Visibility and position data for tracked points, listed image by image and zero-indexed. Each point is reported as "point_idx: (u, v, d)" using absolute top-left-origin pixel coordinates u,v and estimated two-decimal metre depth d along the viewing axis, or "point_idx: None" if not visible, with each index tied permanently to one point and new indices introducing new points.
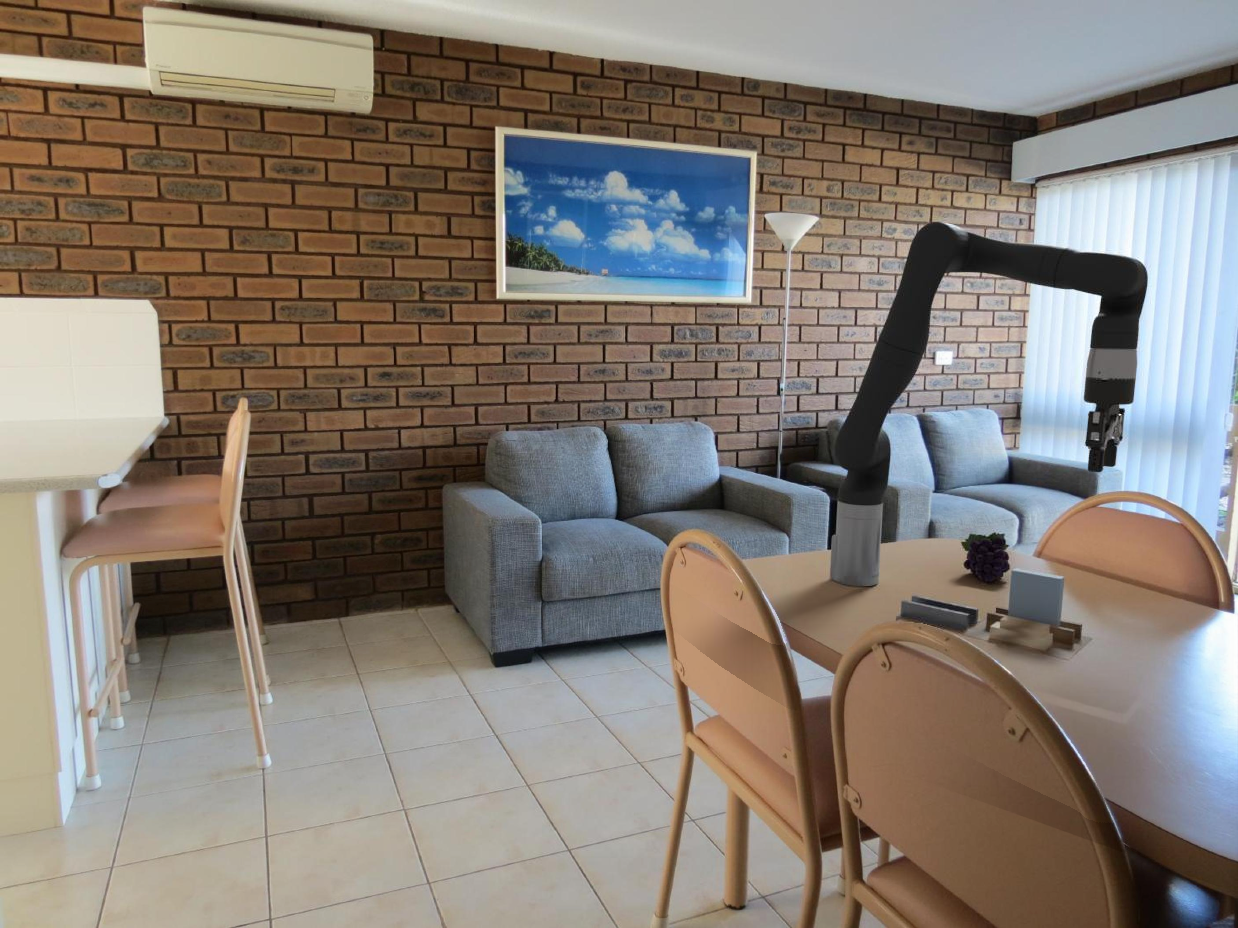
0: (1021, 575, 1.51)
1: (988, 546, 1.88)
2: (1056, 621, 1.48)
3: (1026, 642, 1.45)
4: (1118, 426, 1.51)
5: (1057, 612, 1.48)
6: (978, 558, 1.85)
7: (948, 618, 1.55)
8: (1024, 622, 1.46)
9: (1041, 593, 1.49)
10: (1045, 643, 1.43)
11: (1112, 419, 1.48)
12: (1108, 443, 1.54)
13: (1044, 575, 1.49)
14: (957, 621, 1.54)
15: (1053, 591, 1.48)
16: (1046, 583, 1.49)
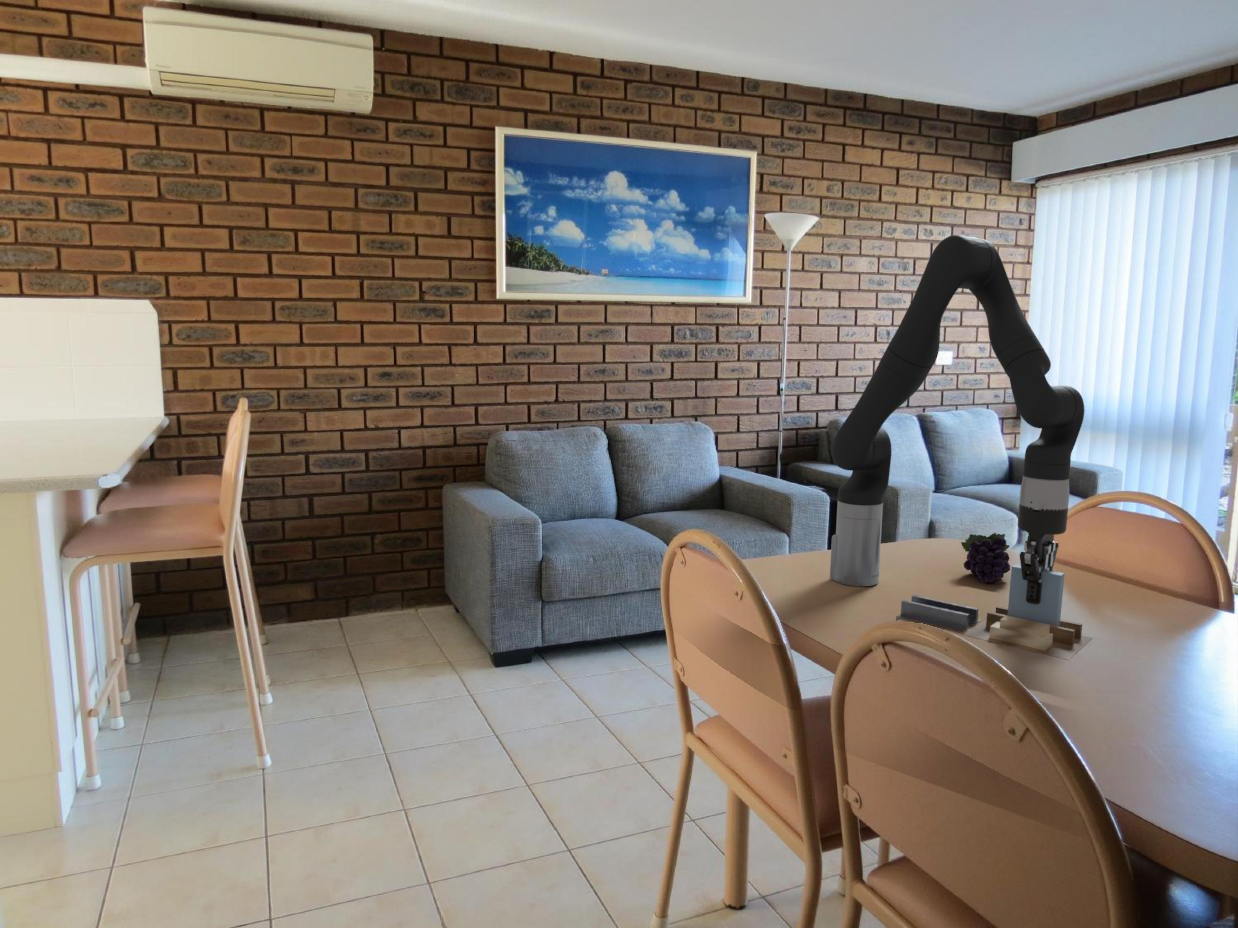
0: (1021, 571, 1.51)
1: (988, 547, 1.87)
2: (1056, 617, 1.48)
3: (1026, 642, 1.45)
4: (1050, 554, 1.49)
5: (1057, 608, 1.48)
6: (978, 559, 1.85)
7: (948, 618, 1.55)
8: (1024, 622, 1.46)
9: (1041, 589, 1.49)
10: (1045, 643, 1.43)
11: (1044, 551, 1.47)
12: None
13: (1044, 571, 1.49)
14: (957, 621, 1.54)
15: (1053, 587, 1.48)
16: (1046, 580, 1.48)
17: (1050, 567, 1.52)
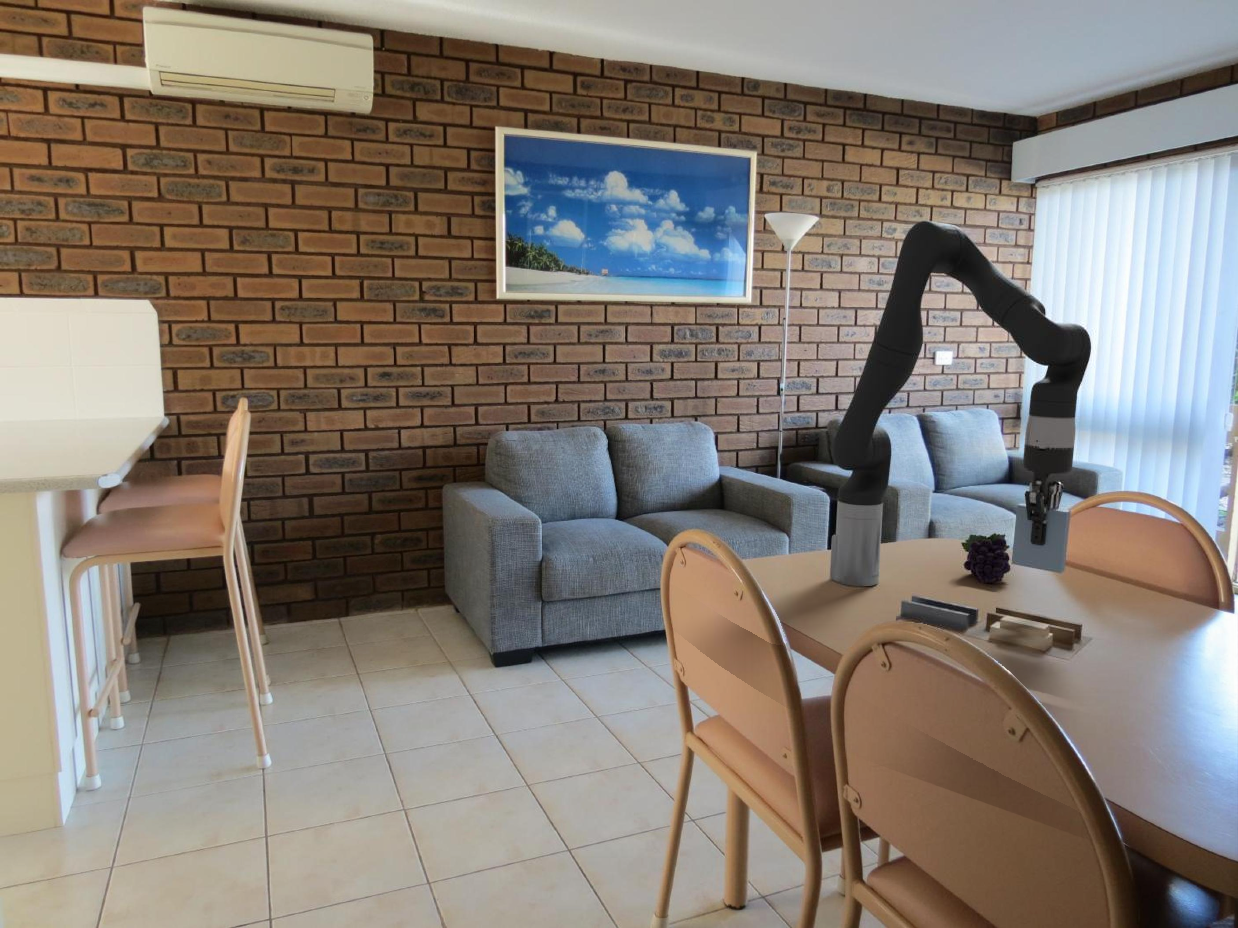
0: None
1: (988, 547, 1.87)
2: (1061, 555, 1.46)
3: (1026, 642, 1.45)
4: (1055, 494, 1.48)
5: (1063, 546, 1.46)
6: (978, 559, 1.85)
7: (948, 618, 1.55)
8: (1024, 622, 1.46)
9: None
10: (1045, 643, 1.43)
11: (1050, 490, 1.46)
12: None
13: None
14: (957, 621, 1.54)
15: (1059, 524, 1.46)
16: (1052, 517, 1.47)
17: None
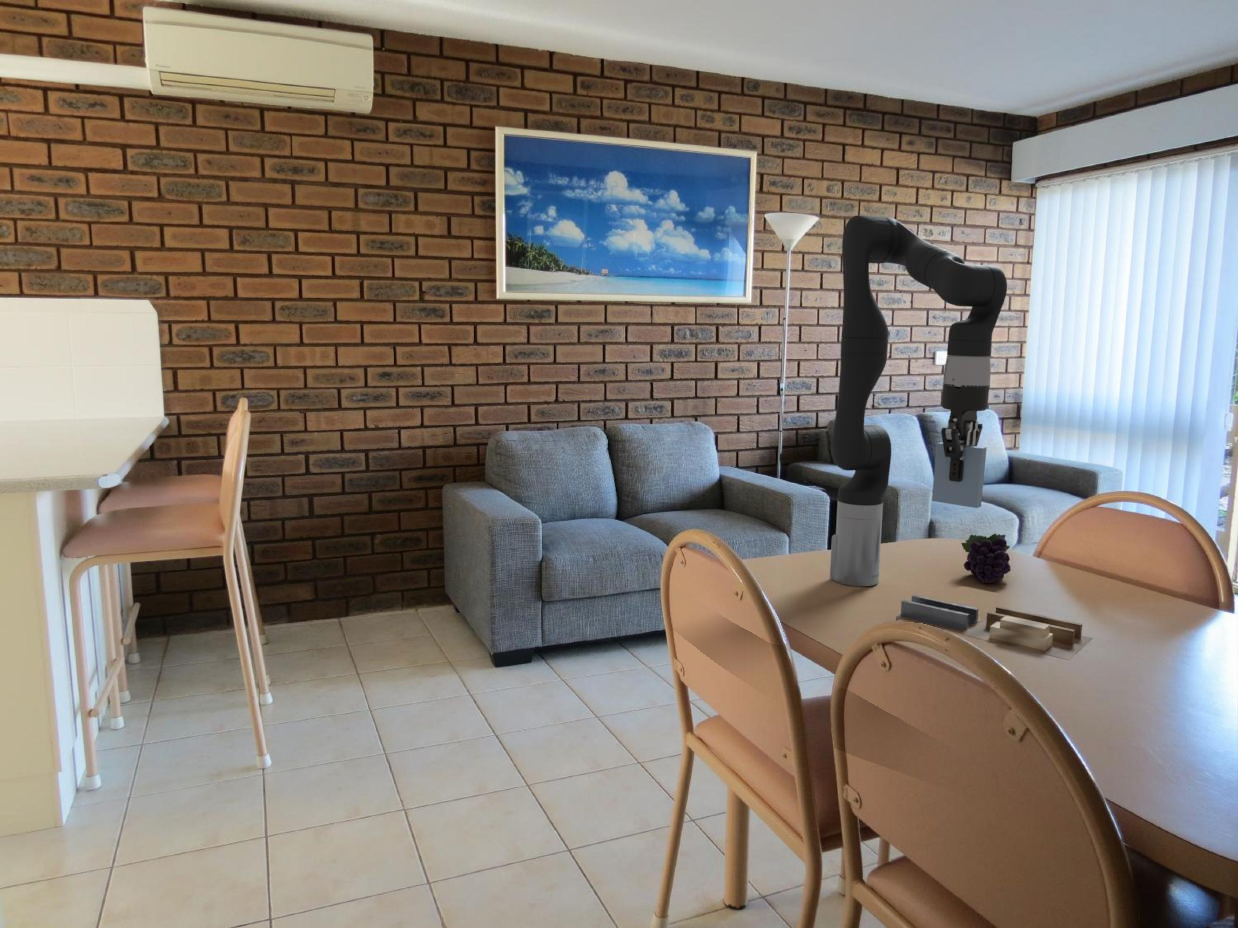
0: None
1: (989, 547, 1.87)
2: (977, 490, 1.51)
3: (1026, 642, 1.45)
4: (972, 432, 1.53)
5: (978, 481, 1.51)
6: (978, 559, 1.84)
7: (948, 618, 1.55)
8: (1024, 622, 1.46)
9: (964, 463, 1.52)
10: (1045, 643, 1.43)
11: (966, 428, 1.51)
12: None
13: None
14: (957, 621, 1.54)
15: (975, 461, 1.51)
16: (968, 454, 1.52)
17: None
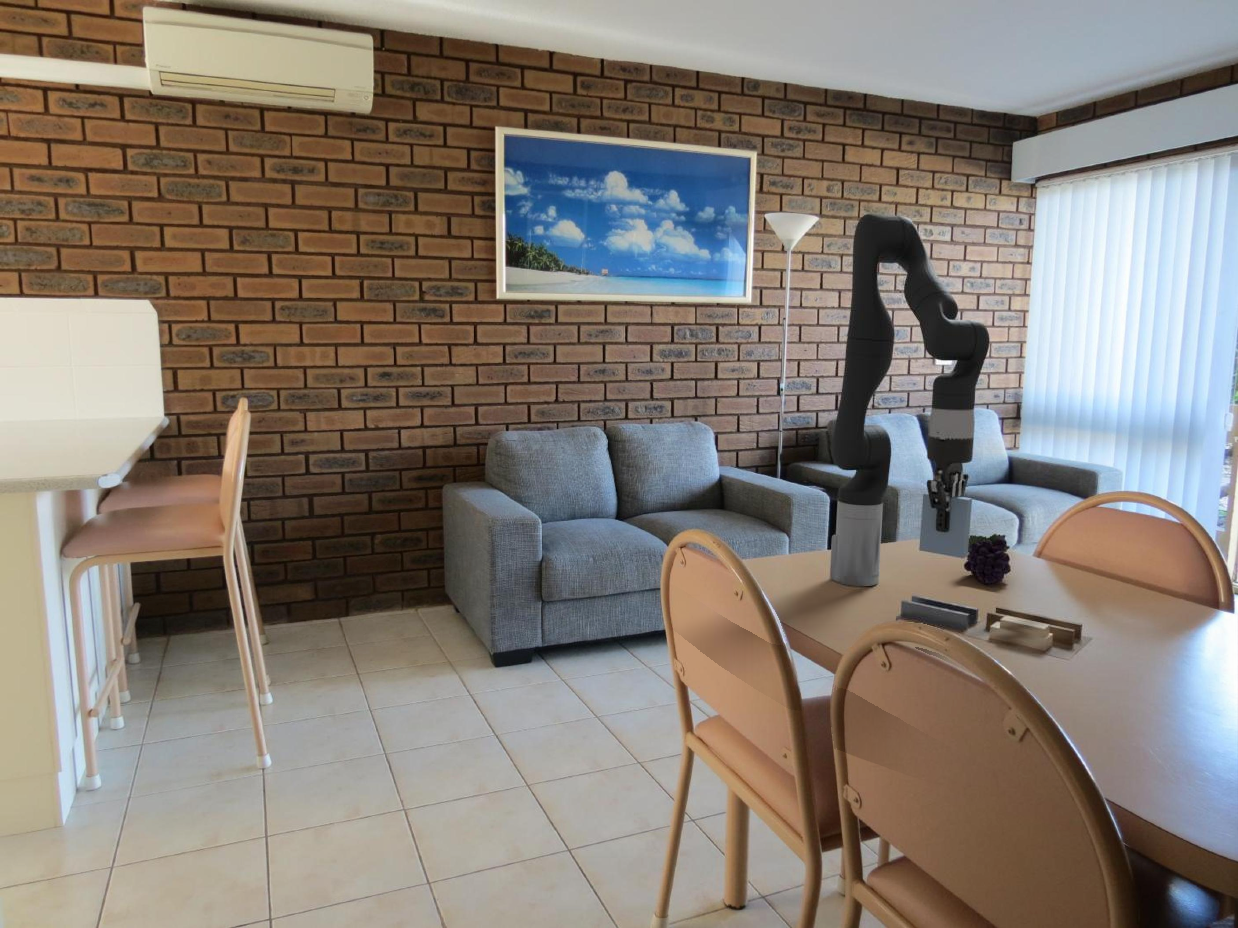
0: None
1: (989, 547, 1.86)
2: (964, 541, 1.53)
3: (1026, 642, 1.45)
4: (958, 483, 1.55)
5: (964, 532, 1.53)
6: (979, 560, 1.84)
7: (948, 618, 1.55)
8: (1024, 622, 1.46)
9: (950, 514, 1.54)
10: (1045, 643, 1.43)
11: (951, 479, 1.53)
12: None
13: None
14: (957, 621, 1.54)
15: (961, 512, 1.53)
16: (954, 505, 1.54)
17: None
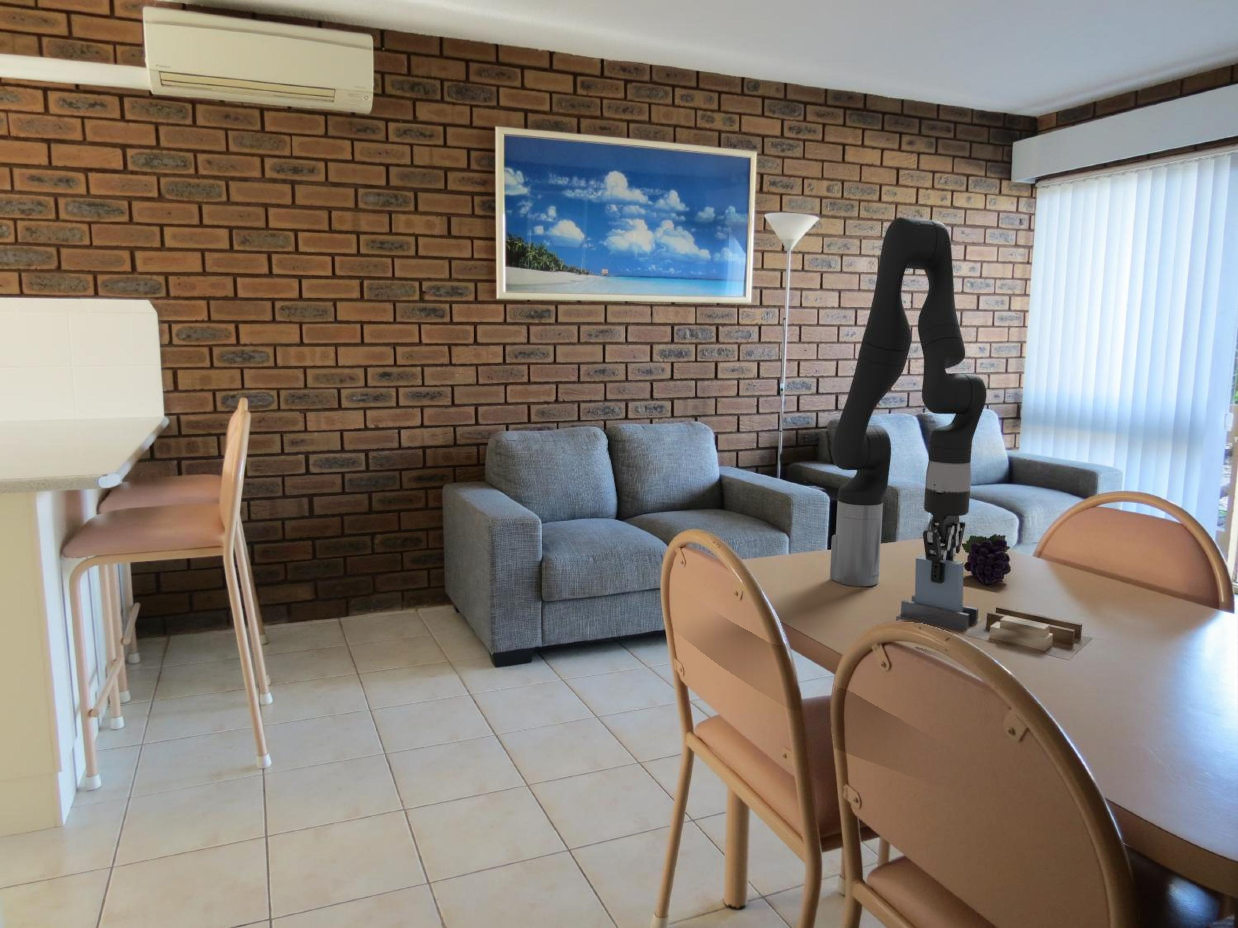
0: (924, 562, 1.59)
1: (989, 548, 1.86)
2: (957, 605, 1.55)
3: (1026, 642, 1.45)
4: (955, 535, 1.56)
5: (957, 596, 1.55)
6: (979, 560, 1.84)
7: (948, 618, 1.55)
8: (1024, 622, 1.46)
9: None
10: (1045, 643, 1.43)
11: (948, 531, 1.54)
12: None
13: (945, 561, 1.56)
14: (957, 621, 1.54)
15: (953, 576, 1.55)
16: (946, 569, 1.56)
17: (957, 547, 1.59)
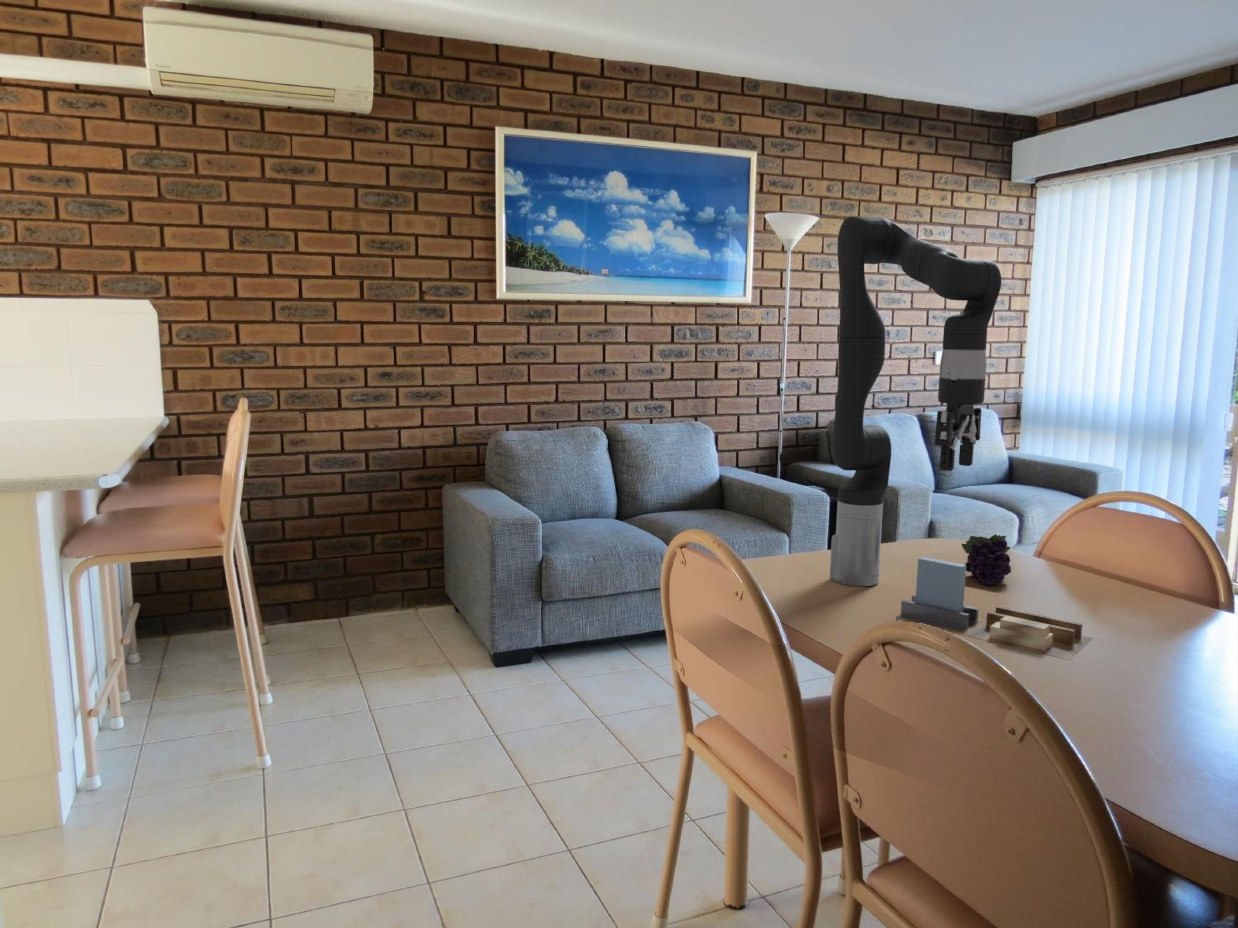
0: (927, 563, 1.58)
1: (989, 548, 1.86)
2: (958, 607, 1.55)
3: (1026, 642, 1.45)
4: (971, 426, 1.54)
5: (959, 598, 1.55)
6: (979, 560, 1.84)
7: (948, 618, 1.55)
8: (1024, 622, 1.46)
9: (944, 580, 1.56)
10: (1045, 643, 1.43)
11: (962, 419, 1.51)
12: (965, 442, 1.57)
13: (947, 563, 1.56)
14: (957, 621, 1.54)
15: (955, 578, 1.55)
16: (948, 571, 1.56)
17: (977, 435, 1.57)
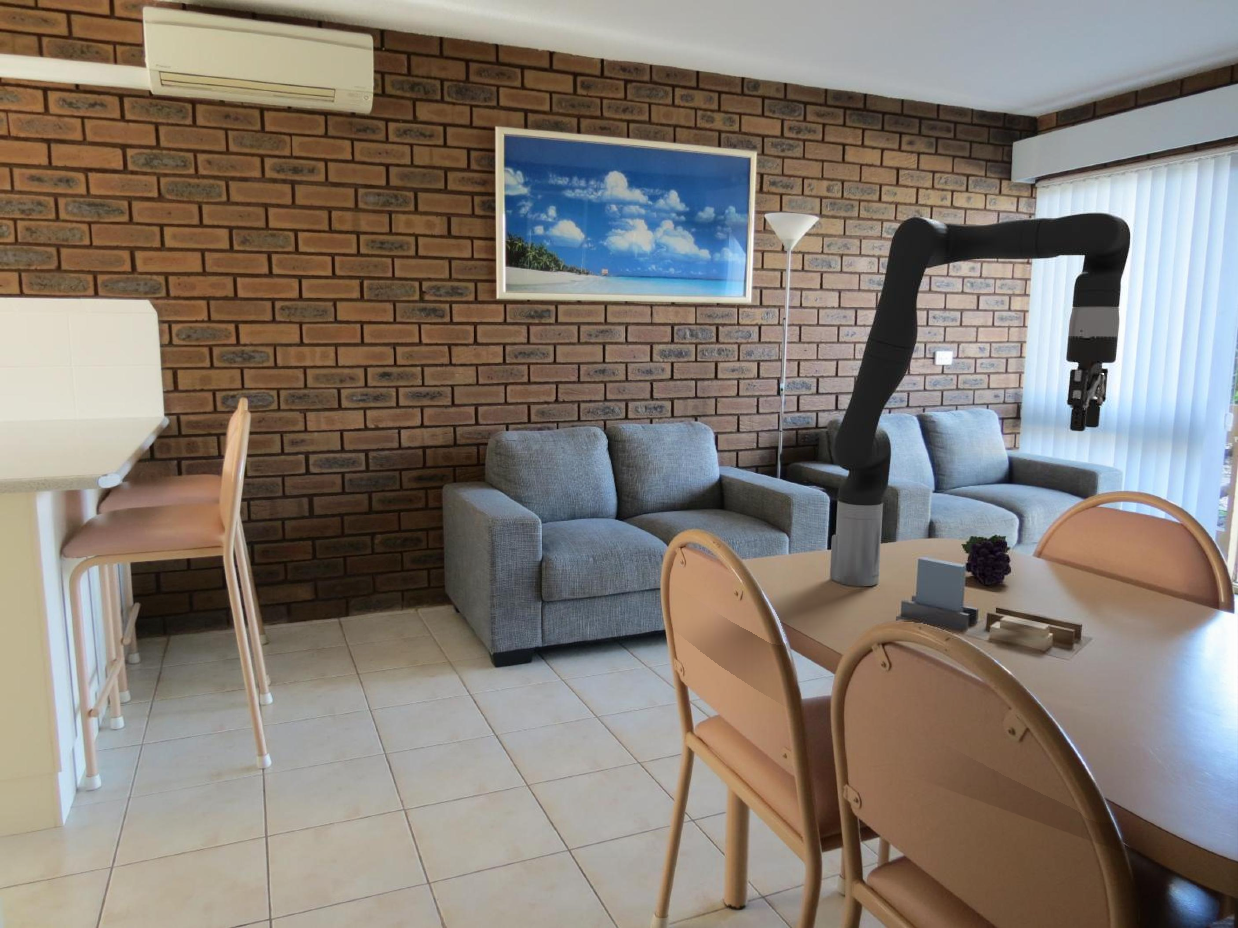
0: (927, 563, 1.58)
1: (989, 548, 1.85)
2: (958, 607, 1.55)
3: (1026, 642, 1.45)
4: (1101, 386, 1.50)
5: (959, 598, 1.55)
6: (979, 561, 1.83)
7: (948, 618, 1.55)
8: (1024, 622, 1.46)
9: (944, 580, 1.56)
10: (1045, 643, 1.43)
11: (1094, 378, 1.47)
12: (1091, 404, 1.54)
13: (947, 563, 1.56)
14: (957, 621, 1.54)
15: (955, 578, 1.55)
16: (948, 571, 1.56)
17: (1103, 396, 1.54)
